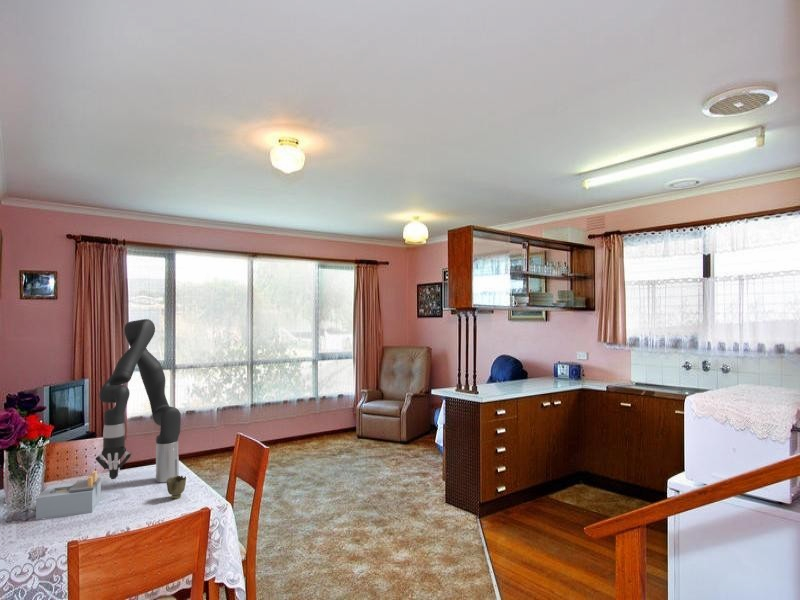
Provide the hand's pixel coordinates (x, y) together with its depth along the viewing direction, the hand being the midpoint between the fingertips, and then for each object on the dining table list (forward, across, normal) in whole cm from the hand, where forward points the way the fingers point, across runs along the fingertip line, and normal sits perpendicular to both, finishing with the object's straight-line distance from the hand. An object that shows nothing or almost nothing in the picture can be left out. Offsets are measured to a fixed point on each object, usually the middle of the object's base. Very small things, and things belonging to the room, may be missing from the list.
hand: (113, 478), depth 193 cm
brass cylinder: (+9, +18, 0) cm, 20 cm away
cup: (+10, -23, +3) cm, 25 cm away
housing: (+10, +15, 0) cm, 18 cm away
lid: (+2, +10, 0) cm, 10 cm away
